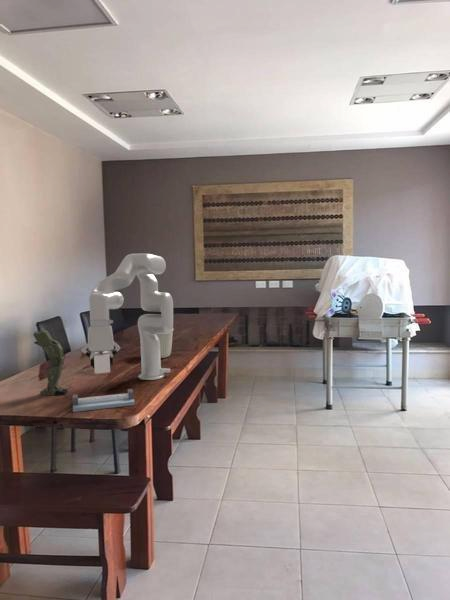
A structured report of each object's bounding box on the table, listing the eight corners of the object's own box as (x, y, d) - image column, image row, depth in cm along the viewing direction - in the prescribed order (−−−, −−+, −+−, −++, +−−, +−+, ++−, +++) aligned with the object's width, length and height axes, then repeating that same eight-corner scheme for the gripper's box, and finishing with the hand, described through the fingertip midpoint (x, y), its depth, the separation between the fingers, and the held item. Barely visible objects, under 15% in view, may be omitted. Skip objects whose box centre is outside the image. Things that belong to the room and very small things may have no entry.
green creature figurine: (76, 388, 217) (57, 325, 214) (72, 393, 210) (52, 328, 207) (47, 396, 217) (27, 333, 214) (41, 401, 210) (21, 336, 207)
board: (131, 396, 206) (131, 393, 205) (134, 405, 194) (134, 401, 194) (73, 403, 199) (73, 399, 198) (73, 411, 187) (72, 408, 187)
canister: (177, 353, 293) (176, 319, 291) (171, 360, 275) (170, 324, 273) (148, 353, 295) (147, 319, 293) (140, 360, 277) (139, 324, 275)
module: (109, 367, 200) (108, 349, 199) (110, 372, 192) (109, 353, 191) (94, 368, 198) (93, 350, 198) (94, 373, 190) (93, 354, 189)
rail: (132, 395, 202) (132, 388, 202) (133, 399, 197) (133, 391, 197) (73, 401, 195) (72, 394, 195) (72, 405, 190) (72, 398, 190)
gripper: (120, 321, 199) (122, 363, 201) (77, 323, 194) (79, 367, 196) (122, 323, 192) (124, 367, 194) (77, 326, 187) (79, 371, 189)
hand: (101, 366), depth 195 cm, fingers closed on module, 6 cm apart
